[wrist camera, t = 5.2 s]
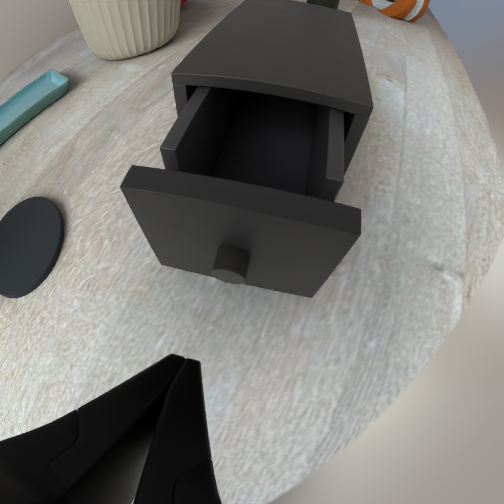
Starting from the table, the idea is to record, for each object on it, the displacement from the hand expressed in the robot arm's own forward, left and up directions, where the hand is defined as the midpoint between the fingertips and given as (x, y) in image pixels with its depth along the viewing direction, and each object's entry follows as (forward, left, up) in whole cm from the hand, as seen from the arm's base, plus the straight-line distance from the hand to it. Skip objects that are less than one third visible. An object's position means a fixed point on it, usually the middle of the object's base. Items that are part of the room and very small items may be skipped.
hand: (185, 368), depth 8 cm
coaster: (+9, +16, -9) cm, 21 cm away
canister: (+43, +13, -9) cm, 46 cm away
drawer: (+14, -4, -8) cm, 17 cm away
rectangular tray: (+25, +31, -9) cm, 41 cm away
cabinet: (+22, -6, -9) cm, 24 cm away
